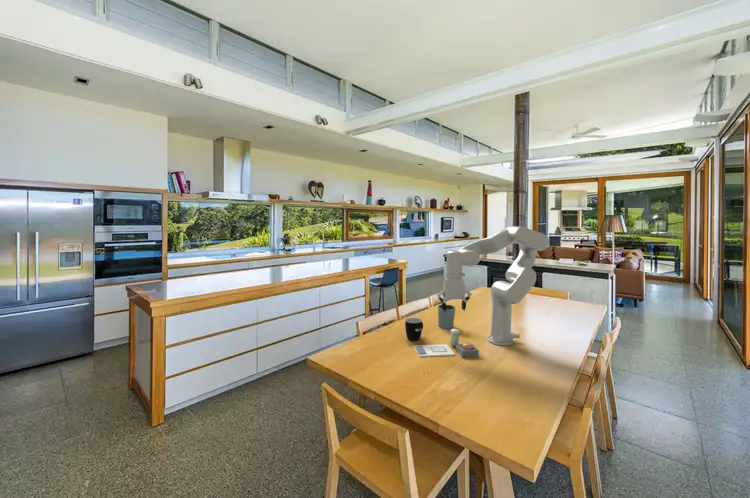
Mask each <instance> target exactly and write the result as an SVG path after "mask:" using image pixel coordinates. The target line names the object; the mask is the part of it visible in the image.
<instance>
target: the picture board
mask: <svg viewBox="0 0 750 498" xmlns="http://www.w3.org/2000/svg"><path fill="white" fill-rule="evenodd" d="M413 348H414V350H415V352H416V354H417V356H418V357H419V358H422V357H423V358H424V357H425V358H426V357H446V356H447V357H449V356H450V357H451V356H455V355H456V354H455V352H454V351H453V350H452V349H451V348H450V346H449V345H448V344H446V343H445V344H444V343H443V344H441V343H440V344H422V345H421V344H420V345H413Z"/></svg>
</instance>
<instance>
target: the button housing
mask: <svg viewBox="0 0 750 498" xmlns="http://www.w3.org/2000/svg"><path fill="white" fill-rule="evenodd" d="M471 344H472V349H469V350H464V349H463V348H462V347H463V343H459V344H456V347H455V349H456V350H455V352H457V353H458V355H459V356H460V357H461V358H476V357H478V358H479V355H480V354H479V353H480V350H479V349H478V348H477V347H476V346H475V345H474V344H473V343H471Z"/></svg>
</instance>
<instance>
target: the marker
mask: <svg viewBox="0 0 750 498" xmlns="http://www.w3.org/2000/svg"><path fill="white" fill-rule="evenodd" d="M459 333H460V330H459V329H457V328H451V329H450V345H451V347H452V348H456V344H460V342H459V341H460V340H459V339H460V334H459Z"/></svg>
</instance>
